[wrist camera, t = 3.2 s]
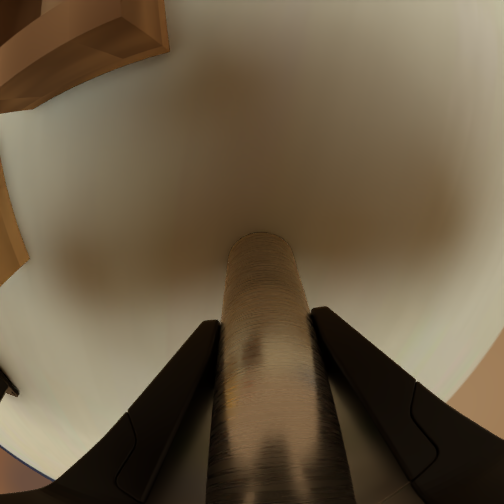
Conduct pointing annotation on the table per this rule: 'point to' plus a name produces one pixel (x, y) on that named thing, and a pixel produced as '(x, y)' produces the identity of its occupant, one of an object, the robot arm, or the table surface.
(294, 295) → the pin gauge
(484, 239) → the table surface
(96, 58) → the block
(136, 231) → the table surface
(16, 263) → the block
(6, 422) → the table surface
